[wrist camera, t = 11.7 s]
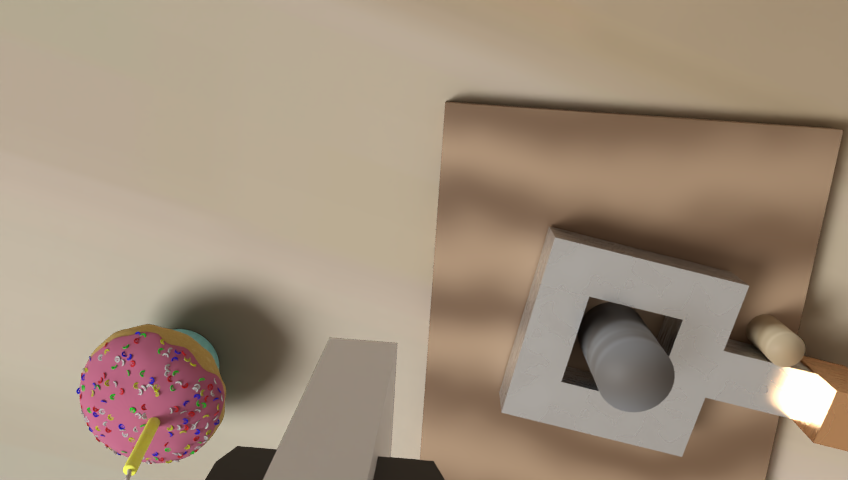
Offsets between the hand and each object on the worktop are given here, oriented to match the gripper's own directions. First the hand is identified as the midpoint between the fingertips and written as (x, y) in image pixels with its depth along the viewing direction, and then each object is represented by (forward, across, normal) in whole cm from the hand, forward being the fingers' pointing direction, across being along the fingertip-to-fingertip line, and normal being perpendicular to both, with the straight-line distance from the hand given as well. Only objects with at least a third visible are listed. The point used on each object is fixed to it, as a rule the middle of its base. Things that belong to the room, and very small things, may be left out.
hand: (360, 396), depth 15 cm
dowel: (+25, +21, -7) cm, 34 cm away
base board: (+26, +12, -8) cm, 30 cm away
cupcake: (+27, -15, -13) cm, 33 cm away
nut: (+25, +16, -9) cm, 31 cm away
